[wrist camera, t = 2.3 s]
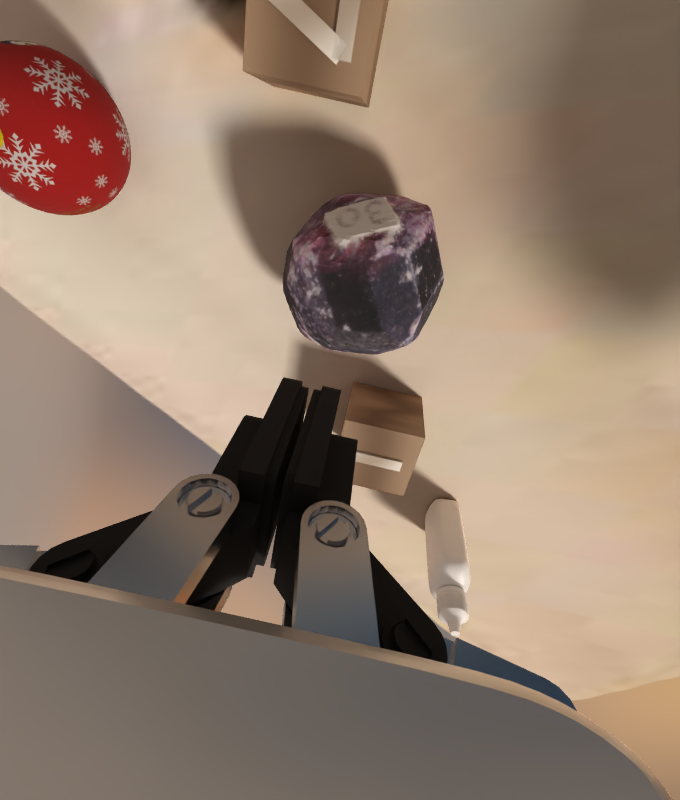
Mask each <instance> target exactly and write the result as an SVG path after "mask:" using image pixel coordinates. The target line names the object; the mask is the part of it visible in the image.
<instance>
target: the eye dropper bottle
mask: <svg viewBox="0 0 680 800" xmlns="http://www.w3.org/2000/svg"><path fill="white" fill-rule="evenodd" d="M425 535H426V550H427V566H428V580H429V588H430V591H431V594H432V596H433V597H434V598H435V599H436V600H437V611H438V618H439V619H440V620H441V621H442V622H444V623H446V624H448V626H449V630H450V633H451V635H452V636H459V635H460V627H461V624H463V623H465V622H466V621H467V620H468V618H469V613H468V606H467V599H466V592H467V590H468V588H469V584H470V566H469V560H468V554H467V547H466V541H465V535H464V529H463V523H462V517H461V511H460V507H459V504H458V503H457V502H456V501H454V500H447V499H436V500H435V501H434V502H433V503H432V504H431V505H430V507H429V509H428V511H427V513H426V517H425Z"/></svg>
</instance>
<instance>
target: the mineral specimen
mask: <svg viewBox="0 0 680 800" xmlns="http://www.w3.org/2000/svg"><path fill="white" fill-rule="evenodd" d="M443 281H444V278H443V271H442V265H441V259H440V254H439V248H438V242H437V237H436V232H435V226H434V220H433V216H432V212H431V209H430V207H429V206H427V205H425V204H421V203H418V202H416V201H413V200H410V199H409V198H406V197H402V196H396V195H380V194H363V193H352V194H343V195H340V196H338V197H336V198H334V199H332V200H330V201H329V202H327V203H326V204H324V205H323V206H322V207H321V208H320V209H319V210H318V211H317V212H316V213H315V214H314V215H313V216H312V217H311V218H310V219H309V221H308V222H307V223H306V224H305V225H304V226H303V227H302V229H301V230H300V231H299V233H298V234H297V235H296V236H295V237H294V239H293V241H292V242H291V244H290V247H289V249H288V251H287V256H286V263H285V269H284V275H283V291H284V294H285V296H286V300H287V303H288V305H289V308H290V310H291V312H292V315H293V317H294V319H295V321H296V324H297V327H298V329H299V330H300V332H301V333H302V334H303V335H304V336H305V337H306V338H308V339H309V340H311V341H313V342H314V343H316V344H318V345H319V346H322V347H324V348H325V349H329V350H333V351H339V352H355V353H364V354H381V353H384V352H388V351H393V350H395V349H398V348H401V347H404V346H406V345H408V344H410V343H411V342H413V341H414V340H415V339H416V338H417V337H418V335H419V333H420V331H421V329H422V328H423V326H424V324H425V323H426V321H427V319H428V317H429V315H430V313H431V311H432V309H433V307H434V305H435V303H436V301H437V299H438V296H439V293H440V290H441V287H442V285H443Z"/></svg>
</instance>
